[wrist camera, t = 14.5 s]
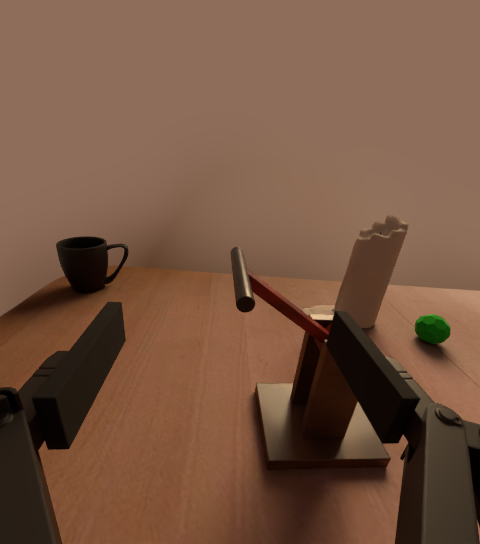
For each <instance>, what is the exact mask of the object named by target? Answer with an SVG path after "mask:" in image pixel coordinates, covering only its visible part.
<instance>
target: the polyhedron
mask: <svg viewBox="0 0 480 544" xmlns="http://www.w3.org/2000/svg"><path fill="white" fill-rule="evenodd" d="M415 332H416V334H417V335H418V336H419V338H420V339H422V340H424V341H426V342H428V343H432V344H436V343H442V342H444V341H445V340H446V339H447V338H448V337H449V336H450V326H449V325H448V323H447V322H446V321H445V320H444V319H443V318H442V317H440V316H437V315H425V316H421V317H420V318H419V319H418V320H417V321H416V323H415Z"/></svg>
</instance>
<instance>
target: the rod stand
mask: <svg viewBox="0 0 480 544" xmlns="http://www.w3.org/2000/svg"><path fill="white" fill-rule="evenodd" d="M333 316H334V315H321V314H309V317H311V318H312V319H313V320H314V321H316V322H317V323H318V324H320V325H321V326H322V327H324V328H326V327H328V326H329V325H330V324H331V323H332V320H333ZM326 342H327V340H324V342H323V345H322V349H321V352H320V350H319V348H318V346H317V344H316V342H315V340H314V337H313V336H312V335H310V334H309V333H308V332H306V331H305V335H304V339H303V344H302V348H301V352H300V357H299V361H298V365H297V370H296V374H295V379H294V383H293V384H280V383H256V388H255V393H256V400H257V406H258V413H259V420H260V426H261V433H262V440H263V447H264V453H265V460H266V467H267V469H302V468H348V467H387V465H388V463H389V461H390V459H391V458H390V456H389V455H388V453H387V451H386V449H385V448H384V446H383V444H382V442H381V441H380V439H379V437H378V435H377V434H376V432H375V430H374V428H373V427H372V425H371V423H370V422H369V420H368V418H367V416H366V415H365V413H364V411H363V409H362V408H361V406H360V404H359V402H358V401H357V399H356V397H355V395H354V394H353V392H352V390H351V388H350V387H349V385H348V383H347V382H346V380H345V378H344V376H343V375H342V373H341V371H340V369H339V368H338V366H337V364H336V362H335V361H334V359H333V357H332V355H331V354H330V352H329V350H328V348H327V347H326Z"/></svg>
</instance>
